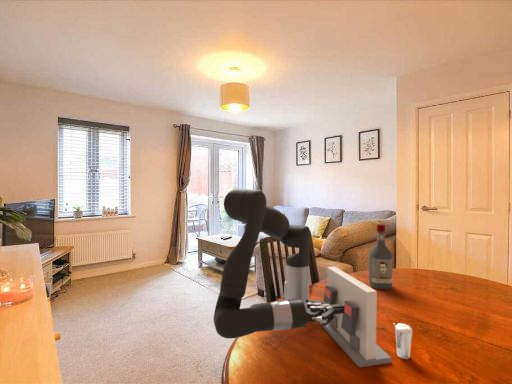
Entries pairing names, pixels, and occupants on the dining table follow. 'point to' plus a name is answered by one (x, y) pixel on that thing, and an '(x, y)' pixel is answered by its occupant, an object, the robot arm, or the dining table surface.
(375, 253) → the liquor
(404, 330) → the milkshake
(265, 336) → the dining table surface
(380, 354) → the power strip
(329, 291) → the rocker outlet
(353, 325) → the rocker outlet
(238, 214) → the robot arm
